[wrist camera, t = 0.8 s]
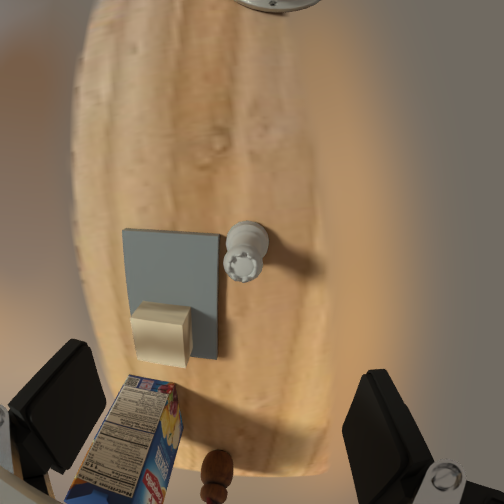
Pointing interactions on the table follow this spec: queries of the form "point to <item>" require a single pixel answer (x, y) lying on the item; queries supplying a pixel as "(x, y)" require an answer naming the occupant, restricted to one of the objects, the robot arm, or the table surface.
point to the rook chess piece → (245, 251)
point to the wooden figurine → (216, 476)
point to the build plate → (176, 278)
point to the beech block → (162, 333)
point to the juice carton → (132, 447)
